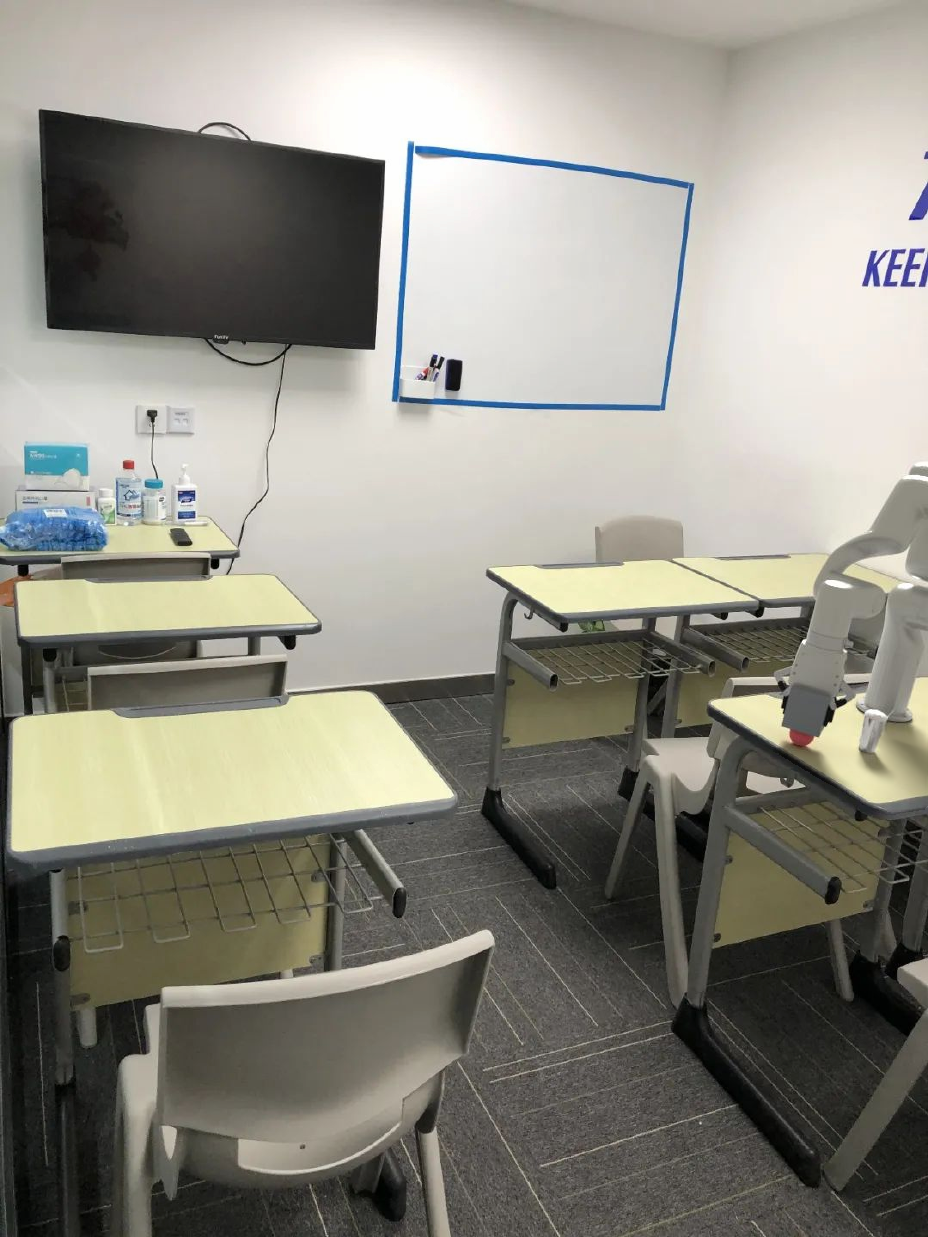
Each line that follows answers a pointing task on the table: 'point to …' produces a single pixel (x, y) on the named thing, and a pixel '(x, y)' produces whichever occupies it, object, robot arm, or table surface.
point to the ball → (800, 738)
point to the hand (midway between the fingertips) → (805, 718)
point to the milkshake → (872, 730)
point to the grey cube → (806, 711)
